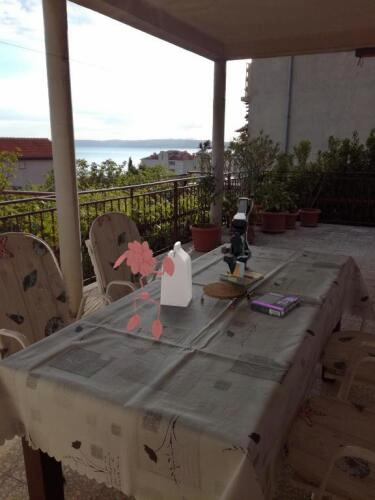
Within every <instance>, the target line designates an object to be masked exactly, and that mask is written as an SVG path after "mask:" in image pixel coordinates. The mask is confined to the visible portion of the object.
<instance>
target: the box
mask: <svg viewBox="0 0 375 500" xmlns="http://www.w3.org/2000/svg"><path fill="white" fill-rule="evenodd" d="M297 302H299V303H300V298H299V297H296V296H291V295H287V294H282V293H279V292H275V291H271V290H270V291H268V292H267V293H264V294H262V295H261V296H259V297H257V298H256V299H254V300H252V301H250V307H249V308H250V309H251V310H254V311H257V312H262V313H265V314H268V313H270V314H269V315H272V314H275V315H279V316H281V315H282V314H284V313H285V312H286V311H288V310H289V309H290V308H291V307H293V306H294V305H295V304H296V303H297ZM293 308H294V307H293ZM289 311H290V310H289ZM289 311H288V312H289ZM286 313H287V312H286ZM286 313H285V314H286ZM285 314H284V315H285ZM275 315H274V316H275ZM279 316H278V317H279ZM282 316H283V315H282ZM282 316H281V317H282Z"/></svg>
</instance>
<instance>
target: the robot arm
mask: <svg viewBox="0 0 375 500" xmlns="http://www.w3.org/2000/svg"><path fill="white" fill-rule="evenodd" d="M253 206H254V200H253V199H251V198H248V197H239V198H238V199H237V200H236V207H237V213H236V214H234V216H233V218H232V220H231V222H230V223H231V224H230V233H232V236H231V237H230V246H228V247H227V246H222V247H221V250H220V253H222V254H223V255H224V256H223V257H222V262H224V263H226V264H227V266H228V269H229V271H230V272H231V274H233V273H234V270H235V267H236V264H237V262H236V261H238V262H242V263H244V270H245V271H246V270H247V269H250V267H249V266H248V262H249V260H250V259H251V258H252V255H253V253H252V251H251V248H250V244H249V242H248V239H247V238H248V229H249V214H251V212H252V208H253Z"/></svg>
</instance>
